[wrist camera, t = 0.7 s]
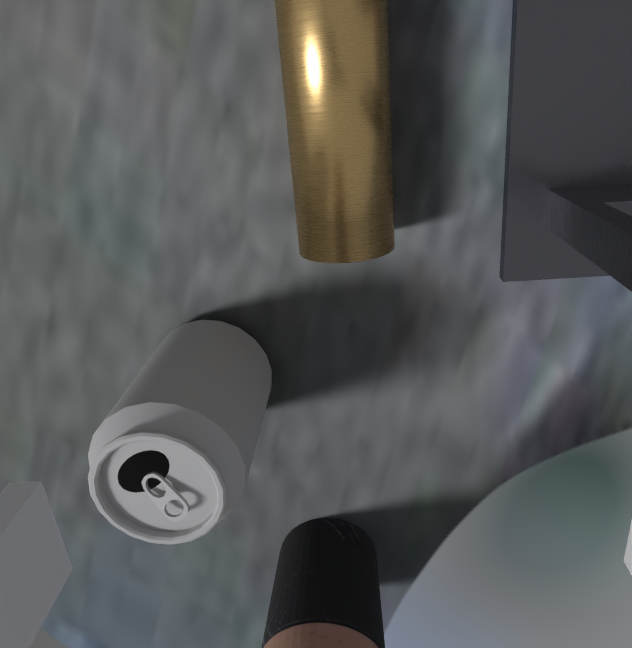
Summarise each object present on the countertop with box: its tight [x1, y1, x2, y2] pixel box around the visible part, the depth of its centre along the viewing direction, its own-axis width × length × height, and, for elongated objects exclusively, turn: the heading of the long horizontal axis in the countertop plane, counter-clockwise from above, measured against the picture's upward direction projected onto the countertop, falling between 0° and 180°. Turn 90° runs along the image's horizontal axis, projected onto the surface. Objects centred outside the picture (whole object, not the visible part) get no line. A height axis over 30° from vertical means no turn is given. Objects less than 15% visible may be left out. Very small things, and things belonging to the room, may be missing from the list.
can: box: [88, 320, 272, 545], centre depth 30 cm, size 8×8×12 cm
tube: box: [275, 0, 395, 263], centre depth 25 cm, size 20×5×5 cm, turn 5°
